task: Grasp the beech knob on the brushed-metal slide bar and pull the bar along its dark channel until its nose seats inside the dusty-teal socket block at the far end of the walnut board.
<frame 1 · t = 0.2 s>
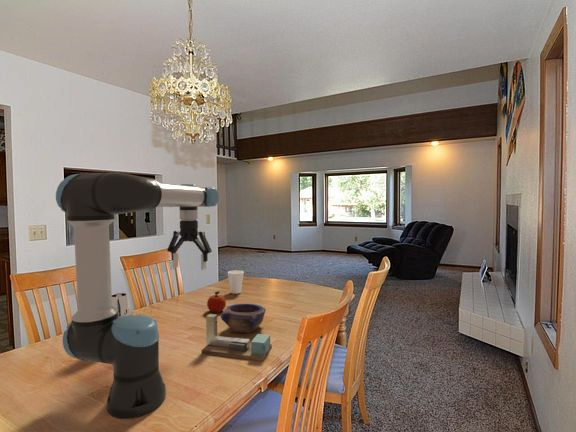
hand: (189, 268, 140), 28 cm above the table, fingers open, 13 cm apart
fruit: (216, 311, 166), on the table
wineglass: (120, 345, 127), on the table
bowl: (244, 329, 143), on the table
slide bar: (227, 331, 123), point 7 cm above the table, slide at 0.0 cm
socket block: (260, 353, 120), resting on rail base
cup: (236, 293, 200), on the table
rail base: (237, 350, 122), on the table
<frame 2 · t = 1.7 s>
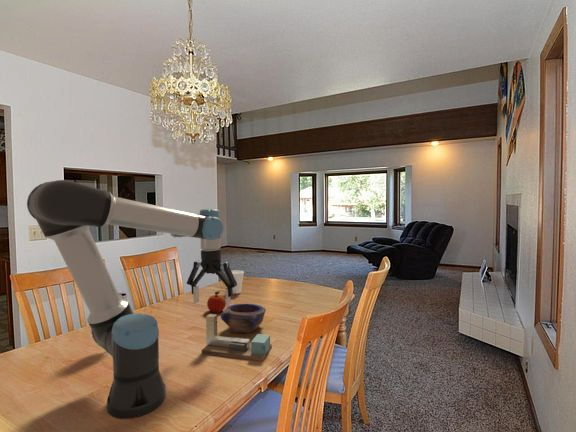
hand: (212, 303, 124), 17 cm above the table, fingers open, 13 cm apart
nothing on the table moved.
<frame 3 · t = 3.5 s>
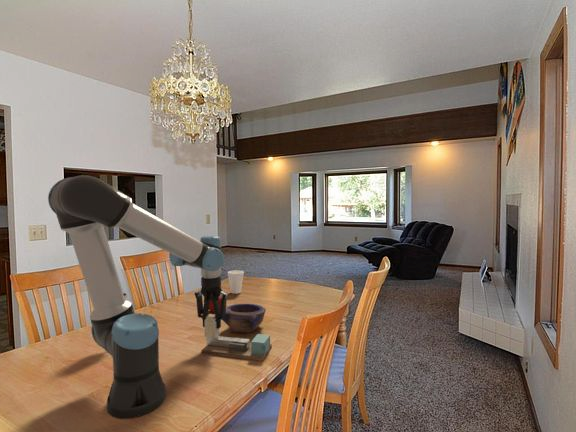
hand: (211, 335, 124), 5 cm above the table, fingers closed on slide bar, 3 cm apart
slide bar: (227, 331, 123), point 7 cm above the table, slide at 0.0 cm, touching gripper
everything else where it was.
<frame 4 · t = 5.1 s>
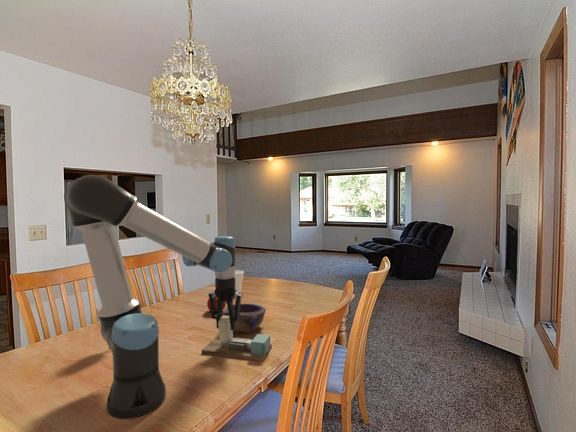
hand: (225, 337, 123), 5 cm above the table, fingers closed on slide bar, 3 cm apart
slide bar: (242, 332, 121), point 7 cm above the table, slide at 5.9 cm, touching gripper
everything else where it was.
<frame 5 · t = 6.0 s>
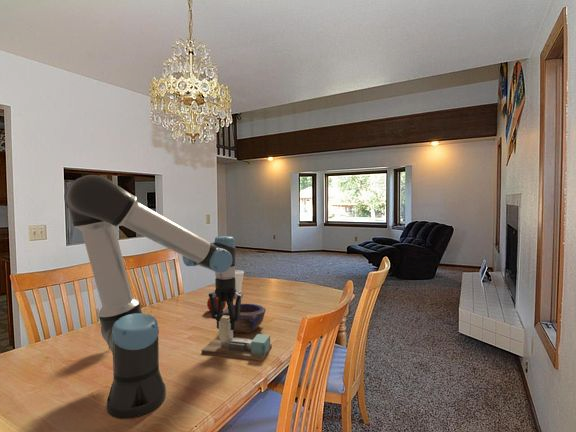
hand: (226, 337, 123), 5 cm above the table, fingers closed on slide bar, 3 cm apart
slide bar: (242, 332, 121), point 7 cm above the table, slide at 6.0 cm, touching gripper
everything else where it was.
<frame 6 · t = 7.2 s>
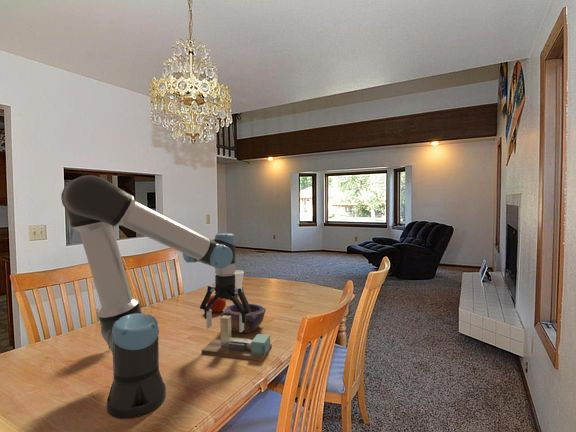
hand: (225, 329, 123), 8 cm above the table, fingers open, 13 cm apart
slide bar: (242, 332, 121), point 7 cm above the table, slide at 6.0 cm
everything else where it was.
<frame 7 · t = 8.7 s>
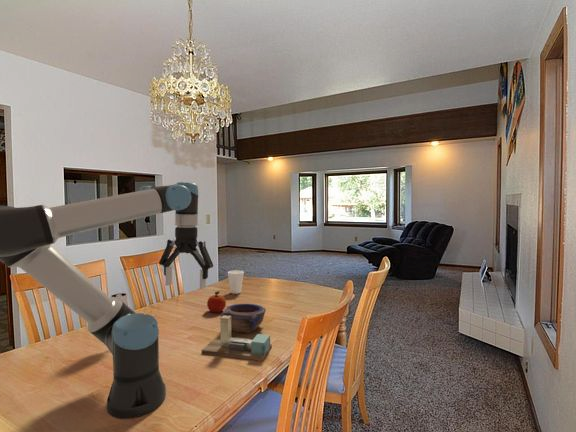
hand: (185, 286, 113), 27 cm above the table, fingers open, 13 cm apart
nothing on the table moved.
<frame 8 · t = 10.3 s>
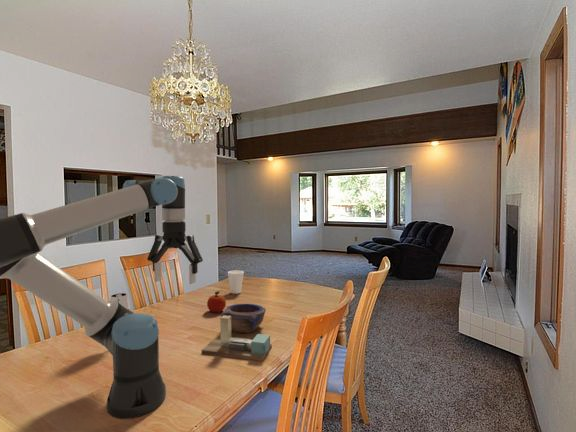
hand: (175, 282, 111), 29 cm above the table, fingers open, 13 cm apart
nothing on the table moved.
at the end: slide bar slide at 6.0 cm; the gripper is holding nothing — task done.
